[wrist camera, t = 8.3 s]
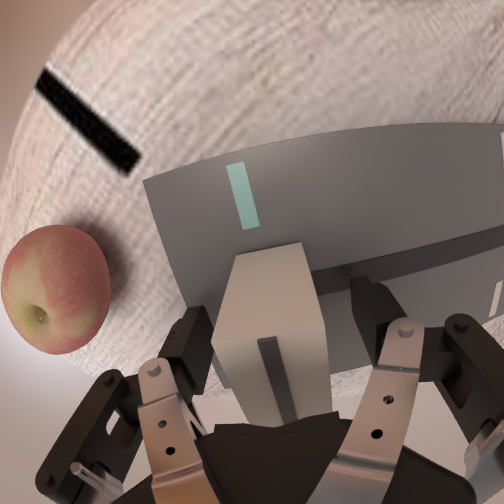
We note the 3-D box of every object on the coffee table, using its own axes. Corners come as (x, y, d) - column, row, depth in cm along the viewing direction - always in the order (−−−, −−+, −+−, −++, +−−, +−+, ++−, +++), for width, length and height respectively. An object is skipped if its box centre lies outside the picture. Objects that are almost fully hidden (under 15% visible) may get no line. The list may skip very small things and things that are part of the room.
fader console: (525, 127, 11) (550, 130, 8) (519, 279, 15) (538, 294, 13) (164, 173, 15) (141, 180, 12) (229, 359, 20) (224, 389, 17)
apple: (121, 323, 19) (71, 395, 12) (51, 277, 18) (-9, 328, 11) (147, 239, 16) (74, 307, 9) (63, 191, 15) (-22, 226, 8)
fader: (300, 242, 12) (325, 327, 6) (315, 329, 14) (333, 426, 8) (236, 255, 12) (209, 345, 7) (260, 338, 14) (254, 436, 9)
